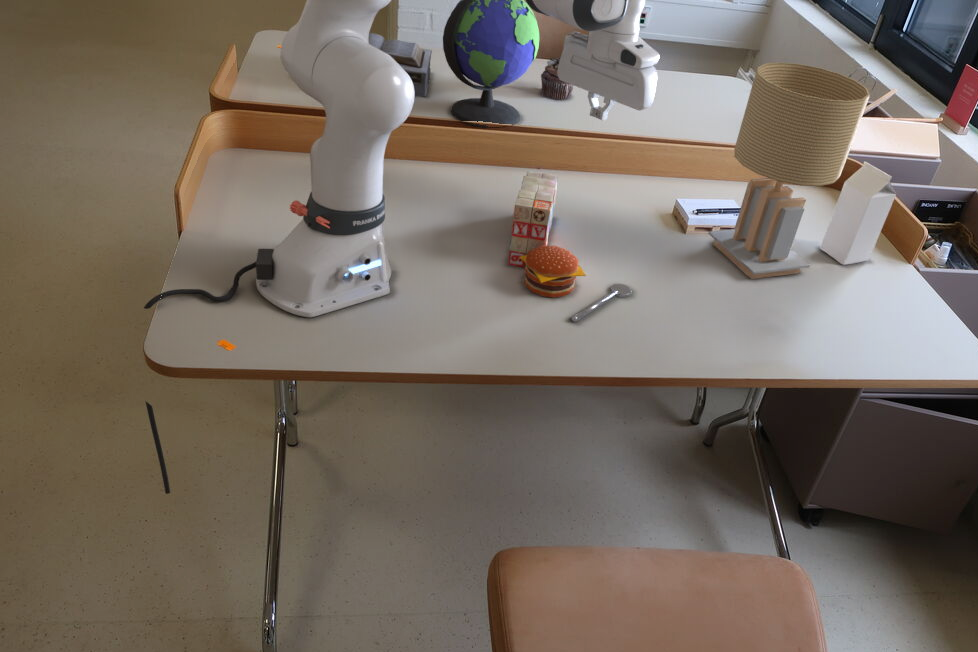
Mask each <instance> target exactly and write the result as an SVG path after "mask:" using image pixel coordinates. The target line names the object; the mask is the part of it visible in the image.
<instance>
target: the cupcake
mask: <svg viewBox="0 0 978 652" xmlns="http://www.w3.org/2000/svg"><path fill="white" fill-rule="evenodd" d="M560 58H561V56H560V57H558V58H556V57H552V58H551V57H550V59H549V60H547V62H546V64H547V65H546V66H545V67H544V71H542V73H541V74H540V80H541V94H542V96H543V97H546V98H548V99H551V100H555V101H556V100H557V101H566V100H569V99H570V98H571V97H572V93H573V90H574V87H575V86H574V85H571V84H569V83H566V82H564V81H561V80H559V77H558V75H557V70H558V66H559V61H560Z"/></svg>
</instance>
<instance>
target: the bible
mask: <svg viewBox="0 0 978 652" xmlns="http://www.w3.org/2000/svg"><path fill="white" fill-rule="evenodd" d="M369 44H370V45H372V46H374V47H375V48H377V49H379V50H381V51H383V52H385V53H386V54H388V55H390V56H391V57H392V58H393V59H394V60H395V61H396V62H397V63H398V64H399V65H400V66H401V67H402V68H403V69H404V70H405V72H406V73H407V74H408V75H409V76H410V78H411V80H412V82H413V85H414V91H415V97H416V96H417V97H422V98H426V96H427V92H428V88H429V84H430V80H431V60H432V53H433V51H432V49H427V48H422V47H421V46H420V45H419V44H418V42H413V41H405V40H400V39H389V40H386V39H385V37H384V36H382V35H380V34H378V33H374V32H369Z"/></svg>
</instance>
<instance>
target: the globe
mask: <svg viewBox="0 0 978 652" xmlns="http://www.w3.org/2000/svg"><path fill="white" fill-rule="evenodd" d="M539 46H540V29H539V25H538V20H537V18H536V15H535V13H534V10H533V9H531V8H530V7H529V5H528V4H527V2H526V0H460V1H458V2H457V4H456V5H455V7H454V8H453V10H452V11H451V12H450V15H449V16H448V18H447V20H446V23H445V25H444V28H443V34H442V50H443V53H444V57H445V61H446V63H447V65H448V67H449V68H450V70H451V71H452V73H453V75H454V76H455V77H456V78H457V79H458V80H459V81H460V82H461V83H463V84H464V85H466V86H468V87H470V88H472V89H475V90H478V91H482V92H481V95H480V97H472V98H464V99H460V100H457V101H455V102H454V103H453V105H452V106H451V108H450V114H451V115H452V117H453V118H455V119H456V120H457V121H460V122H462V121H477V122H478V121H483V122H492V123H499V124H514V125H516V124H518V123H519V122H520V118H521V117H520V113H519V111H518V110H517V108H515V107H514V106H512V105H511V104H509V103H506V102H503V101H501V100H498V99H497V100H496V99H494V96H493V90H496V89H497V88H501V87H502V86H507V85H509V84H511V83H513V82H515V81H517V80H519V79H520V78H521V77H522V76H523V75H524V74H526V72H527V71H528V69H529V68H530V67H531V65H532V64H533V63H534V62H535V60H536V58H537V55H538V52H539V51H538V50H539ZM473 83H475V84H473ZM463 123H464V124H467V125H471V126H474V127H480V128H490V127H488V126H486V125H479V124H473V123H467V122H463ZM490 129H491V128H490Z"/></svg>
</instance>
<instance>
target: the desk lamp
mask: <svg viewBox="0 0 978 652" xmlns="http://www.w3.org/2000/svg"><path fill="white" fill-rule="evenodd" d="M751 85H752V86H751V89H750V91H749V95H748V99H747V103H746V106H745V110H744V114H743V116H742V121H741V124H740V127H739V131H738V135H737V138H736V142H735V146H734V149H733V151H734V158H735V159H736V160H737V161H738V162H739V163H740V164H741V166H743V167H745V168H747V169H748V170H750V171H751V172H753V173H755V174H757V175H759V176H762V177H759V178H749V179H750V180H749V181H748V183H747V186H746V189H745V193H744V196H743V199H742V202H741V205H740V209H739V212H738V216H737V219H736V223H735V225H734V228H731V229H721V230H719V229H718V230H711V231H708V235H709V236H710V237H711V238H712V239H713V240H714V241H713V246H714V247H715V248H717V249H718V250H719V251H720V252H721V253H722V254H723V255H724V256H725V257H726V258H728V259H729V260H730V261H731V262H732V264H734V265H735V266H736V267H738V268H739V269H740V270H741V271H742V272H743V273H744V274H745V275H746V276H747V277H748V278H750V280H755V279H763V278H770V277H778V276H787V275H795V274H800V271H801V269H807V268H809V269H810V268H811V266H812V265H811V264H810V263H809V262H807V261H806V260H805V259H804V258H803V257H801V256H800V255H799V254H797V252H795V251H794V250H792V249H791V248H792V246H793V243H794V240H795V237H796V235H797V232H798V229H799V227H800V223H801V221H802V217H803V214H804V212H805V208H804V207H805V204H806V201H807V199H806V198H805V197H794V198H793V197H792V196H793V193H794V189H792V188H791V187H790V186H788V185H784V184H790V185H795V186H801V187H802V186H803V187H823V186H827V185H833V184H834V183H836V182H837V181H838V180H839V179H840V177H841V175H842V172H843V170H844V167H845V164H846V161H847V159H848V157H849V153H850V151H851V148H852V145H853V143H854V140H855V138H856V135H857V131H858V129H859V126H860V123H861V121H862V118H863V115H864V113H865V110H866V107H867V105H868V102H869V99H870V96H871V94H870V92H869V89H868V88H867V87H866V86H865V85H863V84H862V83H861V82H859V81H858V80H855V79H854V78H850V77H848V76H846V75H844V74H842V73H840V72H836V71H833V70H829V69H825V68H822V67H817V66H812V65H807V64H801V63H792V62H781V61H780V62H767V63H763V64H762V65H760V66H758V67H757V68H756V71H755V75H754V78H753V82H752V84H751Z"/></svg>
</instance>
